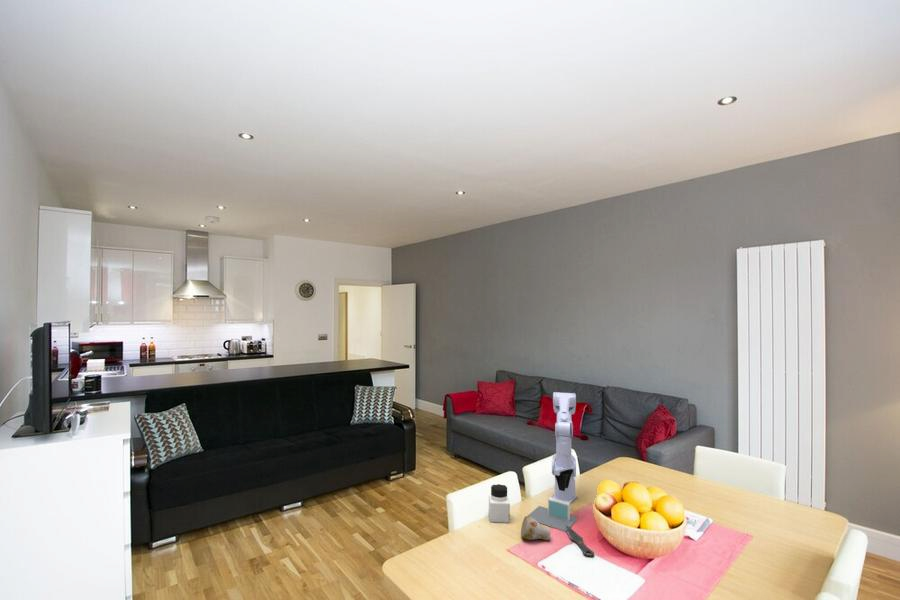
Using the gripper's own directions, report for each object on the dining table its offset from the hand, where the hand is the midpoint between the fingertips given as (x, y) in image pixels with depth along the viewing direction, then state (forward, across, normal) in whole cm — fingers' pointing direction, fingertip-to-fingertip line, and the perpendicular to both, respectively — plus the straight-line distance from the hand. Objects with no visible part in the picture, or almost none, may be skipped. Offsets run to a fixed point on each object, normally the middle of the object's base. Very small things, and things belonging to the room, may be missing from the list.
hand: (563, 488), depth 162 cm
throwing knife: (+9, -16, -11) cm, 22 cm away
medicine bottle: (+10, -18, +18) cm, 28 cm away
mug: (+10, -23, +1) cm, 25 cm away
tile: (+9, -4, 0) cm, 10 cm away
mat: (+9, -6, +2) cm, 12 cm away
